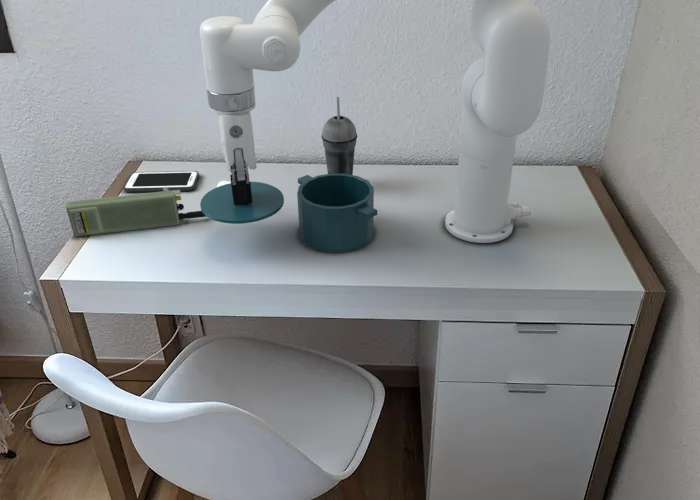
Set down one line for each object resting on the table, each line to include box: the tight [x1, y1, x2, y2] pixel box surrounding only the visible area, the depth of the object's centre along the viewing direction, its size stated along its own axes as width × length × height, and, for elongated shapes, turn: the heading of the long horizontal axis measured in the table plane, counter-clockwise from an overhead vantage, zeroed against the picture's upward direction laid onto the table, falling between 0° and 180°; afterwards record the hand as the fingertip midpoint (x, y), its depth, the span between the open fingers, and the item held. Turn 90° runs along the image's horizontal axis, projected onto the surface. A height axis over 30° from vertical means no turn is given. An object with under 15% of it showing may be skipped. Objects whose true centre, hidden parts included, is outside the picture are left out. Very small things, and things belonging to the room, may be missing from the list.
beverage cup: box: [321, 96, 358, 175], centre depth 133 cm, size 7×7×20 cm
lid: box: [199, 179, 285, 225], centre depth 115 cm, size 15×15×6 cm
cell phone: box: [123, 170, 200, 193], centre depth 140 cm, size 8×15×1 cm, turn 92°
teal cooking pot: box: [296, 173, 378, 254], centre depth 120 cm, size 14×19×9 cm
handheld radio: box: [65, 190, 208, 237], centre depth 124 cm, size 7×3×25 cm
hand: (242, 198), depth 116 cm, fingers closed on lid, 2 cm apart
